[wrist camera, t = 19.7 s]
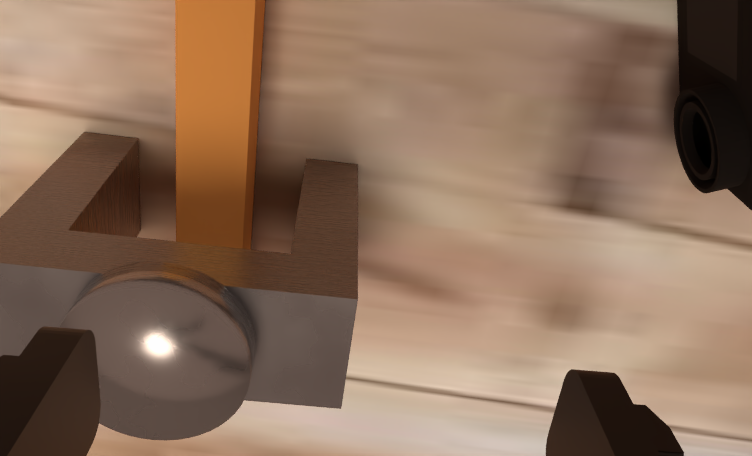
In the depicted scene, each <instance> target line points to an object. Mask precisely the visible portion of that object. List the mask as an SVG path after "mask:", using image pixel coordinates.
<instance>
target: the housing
mask: <svg viewBox="0 0 752 456" xmlns="http://www.w3.org/2000/svg"><path fill="white" fill-rule="evenodd" d="M140 230H141V220H140V185H139V149H138V138H130V137H121V136H113V135H104V134H96V133H88V132H84V133H83V134H82V135H81V136H80V137H79V138H78V139H77V140H76V141H75V142H74V143H73V144H72V145H71V146H70V147H69V148H68V149H67V150H66V151H65V152H64V153H63V154H62V155H61V156H60V157H59V158H58V159H57V160H56V161H55V162H54V163H53V164H52V165H51V166H50V167H49V168H48V169H47V170H46V172H45V173H44V174H43V175H42V176H41V177H40V178H39V179H38V180H37V181H36V182H35V183H34V184H33V185H32V186H31V187H30V188H29V189H28V190H27V191H26V192H25V193H24V194H23V195H22V196H21V197H20V198H19V199H18V200H17V201H16V202H15V203H14V204H13V205H12V206H11V207H10V208H9V209H8V210H7V211H6V212H5V213H4V214H3V215H2V216H1V217H0V357H1V356H2V355H13V356H20V354H21V353H22V352H23V350H24V349H25V347H26V346H27V345H28V343H29V342H30V341H31V339H32V338H33V337H34V335H35V334H36V332H37V331H38V330H39V329H40V328H41V327H44V326H47V327H59V328H72V329H84V330H91V331H92V332H93V334H94V337H95V342H96V354H97V365H98V377H99V389H100V401H101V409H100V418H99V423H100V424H102V425H104V426H106V427H108V428H110V429H112V430H115V431H117V432H120V433H123V434H126V435H129V436H134V437H138V438H143V439H151V440H178V439H184V438H190V437H194V436H198V435H201V434H203V433H206V432H209V431H211V430H213V429H215V428H216V427H218V426H220V425H221V424H223V423H224V422H226V421H227V420H228V419H229V418H230V417H231V416H232V415H234V414H235V413H236V411H237V410H238V409H239V407H240V406H241V404H242V403H243V401H244V400H248V401H259V402H270V403H282V404H293V405H305V406H316V407H328V408H339V409H341V406H342V399H343V393H344V386H345V379H346V373H347V366H348V360H349V353H350V347H351V340H352V334H353V327H354V321H355V314H356V308H357V301H358V165H357V164H348V163H340V162H331V161H323V160H315V159H306V165H305V171H304V177H303V183H302V189H301V195H300V201H299V207H298V213H297V219H296V225H295V231H294V237H293V243H292V249H291V254H287V253H278V252H268V251H259V250H250V249H240V248H231V247H221V246H212V245H203V244H193V243H184V242H175V241H165V240H156V239H146V238H137V236H138V234H139V232H140Z"/></svg>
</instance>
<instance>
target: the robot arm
mask: <svg viewBox="0 0 752 456" xmlns="http://www.w3.org/2000/svg"><path fill="white" fill-rule="evenodd" d="M100 409H101V401H100V389H99V377H98V365H97V354H96V342H95V337H94V334H93V332H92V331H91V330H84V329H72V328H59V327H47V326H44V327H41V328H40V329H39V330H38V331H37V332H36V334H35V335H34V337H33V338H32V339H31V341H30V342H29V343H28V345H27V346H26V347H25V349H24V350H23V352H22V353H21V354H20V356H13V355H2V356H1V357H0V456H86V455H87V453H88V451H89V449H90V447H91V445H92V443H93V440H94V438H95V435H96V432H97V428H98V424H99V418H100ZM546 456H684V452H683V450H682V449H681V447H680V445H679V443H678V442H677V440H676V438H675V436H674V435H673V433H672V431H671V429H670V428H669V427H668V426H667V425H666V424H665V423H664V422H663V421H662V420H661V419H660V418H659V417H658V416H657V415H655V414H654V413H653V412H652V411H651V410H650V409H649V408H648V407H647V406H646V405H636V404H633V403H632V401H631V399H630V397H629V395H628V393H627V391H626V389H625V387H624V386H623V384H622V382H621V380H620V378H619V377H618V376H617V375H616V374H615V373H610V372H597V371H584V370H570V371H569V372H568V373H567V374H566V377H565V379H564V382H563V386H562V389H561V392H560V396H559V399H558V403H557V406H556V410H555V413H554V416H553V420H552V423H551V427H550V430H549V433H548V437H547V443H546Z"/></svg>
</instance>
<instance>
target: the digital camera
mask: <svg viewBox="0 0 752 456" xmlns="http://www.w3.org/2000/svg"><path fill="white" fill-rule="evenodd" d="M677 4H678V44H679V81H680V94H679V96H678V98H677V101H676V104H675V110H674V131H675V139H676V144H677V149H678V153H679V156H680V159H681V162H682V165H683V168H684V170H685V172H686V174H687V176H688V178H689V180H690V181H691V182H692V184H693V185H694V186H695V187H696V188H697V189H698V190H699V191H701V192H703V193H710V192H714V191H718V190H723V189H728V190H730V191H731V192H732V193H733V194H734V195H735V196H736V197H737V198H738V199H740V200H741V201H742V202H743V203H744V204H745V205H746V206H747V207H748V208H749V209H751V210H752V0H677Z"/></svg>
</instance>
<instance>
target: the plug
mask: <svg viewBox="0 0 752 456" xmlns="http://www.w3.org/2000/svg"><path fill="white" fill-rule="evenodd" d="M175 5H176V242H184V243H193V244H203V245H212V246H221V247H231V248H240V249H250V250H251V234H252V217H253V200H254V183H255V166H256V149H257V132H258V114H259V97H260V80H261V63H262V46H263V29H264V12H265V0H175Z"/></svg>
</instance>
